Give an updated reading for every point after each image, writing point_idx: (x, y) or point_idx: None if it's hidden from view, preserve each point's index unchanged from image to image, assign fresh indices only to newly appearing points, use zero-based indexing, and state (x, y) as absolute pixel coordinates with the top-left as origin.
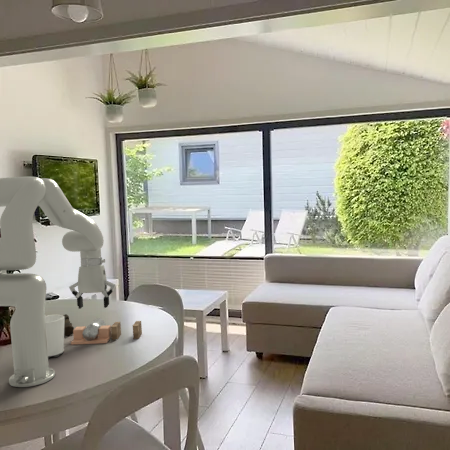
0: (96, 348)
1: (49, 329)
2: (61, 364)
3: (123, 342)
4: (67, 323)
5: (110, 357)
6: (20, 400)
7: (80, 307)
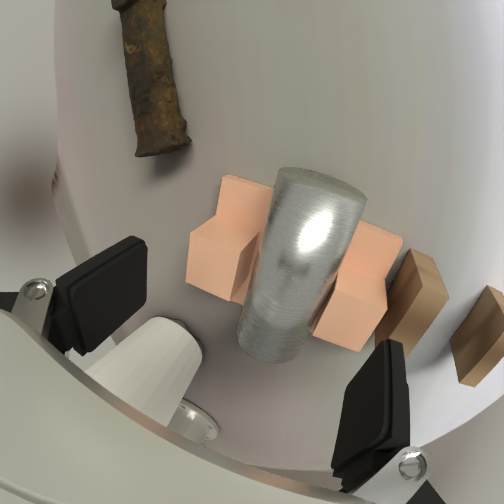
0: (303, 364)
1: None
2: (218, 400)
3: None
4: (137, 92)
5: (331, 425)
6: None
7: (141, 306)
